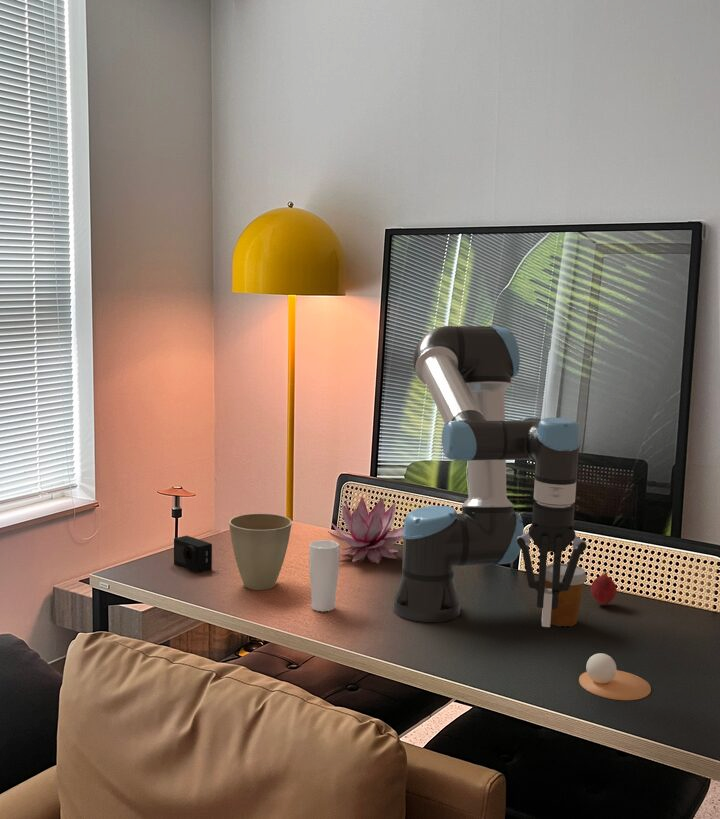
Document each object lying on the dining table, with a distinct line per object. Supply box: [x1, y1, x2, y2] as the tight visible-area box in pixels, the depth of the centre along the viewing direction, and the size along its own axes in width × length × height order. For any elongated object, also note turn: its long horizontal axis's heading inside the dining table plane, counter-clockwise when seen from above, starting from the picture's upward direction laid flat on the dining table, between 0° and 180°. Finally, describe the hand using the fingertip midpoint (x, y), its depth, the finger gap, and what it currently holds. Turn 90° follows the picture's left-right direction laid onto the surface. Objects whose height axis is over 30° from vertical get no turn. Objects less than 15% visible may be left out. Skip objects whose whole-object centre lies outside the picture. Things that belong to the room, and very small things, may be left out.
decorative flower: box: [327, 496, 404, 564], centre depth 247 cm, size 21×21×15 cm
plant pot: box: [228, 512, 293, 591], centre depth 223 cm, size 15×15×16 cm
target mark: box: [578, 669, 652, 701], centre depth 173 cm, size 13×13×1 cm
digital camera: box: [173, 535, 213, 574], centre depth 236 cm, size 10×5×7 cm, turn 48°
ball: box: [585, 652, 618, 684], centre depth 174 cm, size 6×6×6 cm
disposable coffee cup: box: [545, 563, 588, 628], centre depth 204 cm, size 10×10×12 cm
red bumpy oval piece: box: [590, 571, 618, 606], centre depth 216 cm, size 6×6×8 cm
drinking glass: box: [308, 539, 340, 613], centre depth 208 cm, size 7×7×15 cm
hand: (545, 623), depth 174 cm, fingers closed
